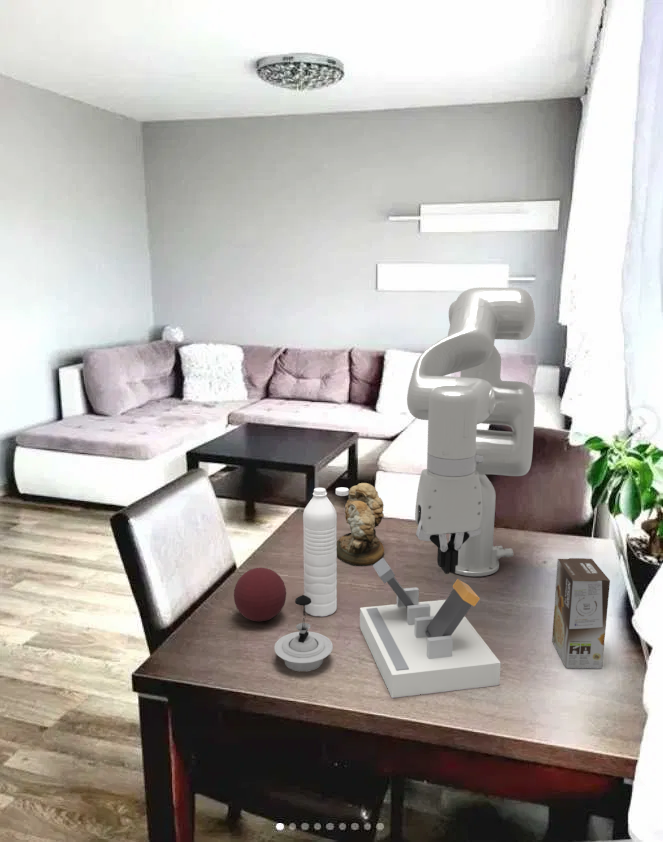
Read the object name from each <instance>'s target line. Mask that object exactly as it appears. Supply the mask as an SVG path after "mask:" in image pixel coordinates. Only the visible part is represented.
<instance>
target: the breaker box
mask: <svg viewBox="0 0 663 842" xmlns="http://www.w3.org/2000/svg"><path fill="white" fill-rule="evenodd" d="M403 589H404V590H405V592H406V593H407V594H408V596H409V597H410V598H411V600H412V601H413V603H414V604H415V605H410V606H407V608H406V606H405V605H404V604H403V603H402V601H401V600H400V599H399V597H398V596H397V595H396V603H395V604H386V605H376V606H375V605H374V606H364V607H360V608H359V629H360V631H361V633H362V636H363V637H364V640H365V641H366V644H367V646H368V648H369V651H370V652H371V655H372V657H373V660H374V662H375V663H376V666H377V669H378V670H379V673H380V675H381V678H382V680H383V682H384V684H385V686H386V689H387V688H388V689H387V692H388V693H389V695H390V697H391V699H394V698H403V697H412V696H419V695H420V694H421V695H429V694H435V693H436V694H437V693H438V694H439V693H445V692H452V691H453V692H454V691H461V690H469V689H477V688H479V689H480V688H486V687H494V686H500V681H501V679H500V678H501V664H502V663H501V661H500V660H499V658H498V657H497V656H496V655H495V653H494V652H493V651H492V650H491V648H490V647H489V645H488V644H487V643H486V642H485V641H484V639H483V638H482V637H481V635H480V634H479V633H478V631H477V630H476V629H475V628H474V626H473V625H472V624H471V622H470V621H469V619H468V618H467V617H466V615H465V616H464V618H463V619H462V621H461V622H460V623H459V625H458V626H457V628H456V629H455V631H454V632H453V633H452V635H450V636H441V637H431V638H428V637H427V636H426V634H425V632H426V631H427V627H428V625H429V624H430V622H431V621H432V619H433V618H434V617H435V615H436V614H437V612H438V611H439V609H440V608H441V606H442V605H443V604H444V602H445V601H446V599H438V600H427V601H419V600H420V599H419V598H420V597H419V596H420V595H419V594H420V589H419V587H416V586H415V587H406V588H404V587H403ZM421 695H420V696H421Z"/></svg>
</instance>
